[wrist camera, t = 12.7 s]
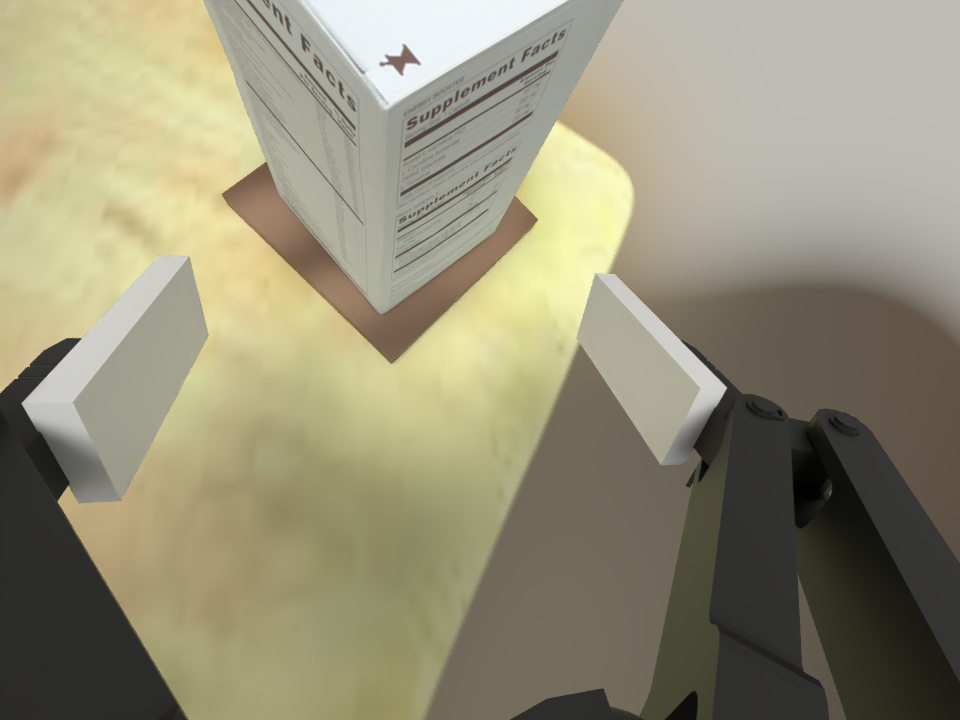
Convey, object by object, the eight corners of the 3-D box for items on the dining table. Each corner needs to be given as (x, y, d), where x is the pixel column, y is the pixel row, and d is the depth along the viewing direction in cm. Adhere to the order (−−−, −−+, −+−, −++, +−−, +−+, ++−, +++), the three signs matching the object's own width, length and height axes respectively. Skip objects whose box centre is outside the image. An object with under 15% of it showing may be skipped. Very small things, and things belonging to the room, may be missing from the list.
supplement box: (499, 232, 28) (666, -39, 12) (381, 320, 26) (397, 124, 10) (400, 113, 28) (437, -323, 12) (271, 189, 26) (100, -235, 9)
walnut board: (228, 204, 26) (221, 194, 25) (391, 85, 30) (391, 71, 29) (391, 363, 27) (392, 360, 26) (531, 227, 30) (538, 219, 29)
